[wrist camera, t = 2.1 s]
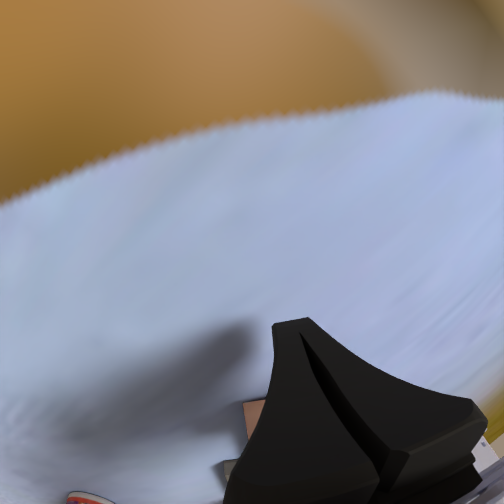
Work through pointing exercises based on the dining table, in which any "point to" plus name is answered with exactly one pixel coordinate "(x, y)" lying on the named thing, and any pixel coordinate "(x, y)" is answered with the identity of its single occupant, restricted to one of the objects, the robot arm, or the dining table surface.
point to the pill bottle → (86, 499)
